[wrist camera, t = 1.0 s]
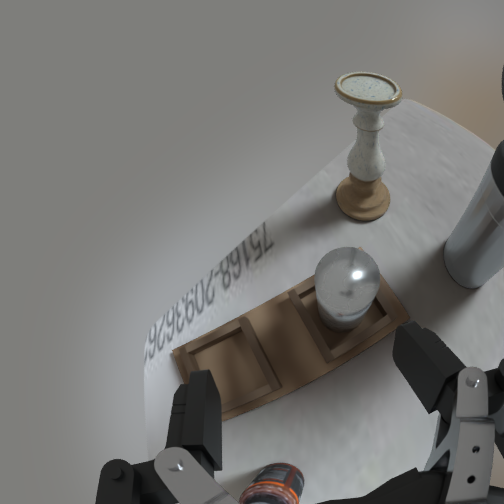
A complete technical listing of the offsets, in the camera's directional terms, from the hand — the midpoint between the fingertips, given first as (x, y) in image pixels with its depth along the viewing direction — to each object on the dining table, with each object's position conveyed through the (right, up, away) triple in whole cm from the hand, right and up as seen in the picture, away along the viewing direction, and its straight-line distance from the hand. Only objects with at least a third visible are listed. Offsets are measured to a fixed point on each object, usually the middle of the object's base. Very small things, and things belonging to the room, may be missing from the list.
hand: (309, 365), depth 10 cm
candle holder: (+15, +13, +30) cm, 36 cm away
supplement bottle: (+1, -24, +14) cm, 28 cm away
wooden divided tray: (+2, -7, +23) cm, 24 cm away
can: (+9, -3, +22) cm, 24 cm away
